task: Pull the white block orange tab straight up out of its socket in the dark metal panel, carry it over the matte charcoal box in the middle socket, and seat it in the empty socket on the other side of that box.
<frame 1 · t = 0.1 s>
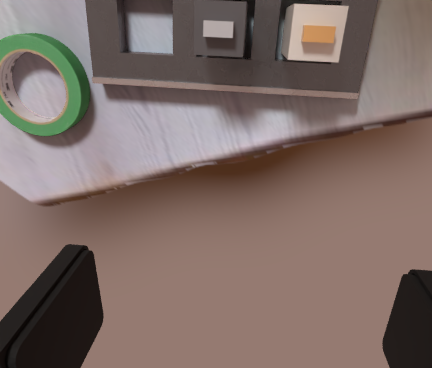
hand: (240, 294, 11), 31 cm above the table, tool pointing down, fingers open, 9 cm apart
tape roll: (46, 84, 41), on the table
panel: (226, 28, 36), on the table
white block orange tab: (304, 31, 35), resting in panel
matte charcoal box: (226, 28, 36), resting in panel
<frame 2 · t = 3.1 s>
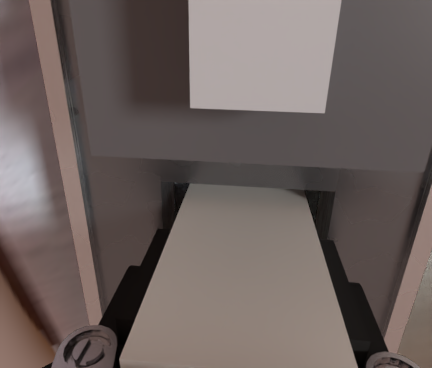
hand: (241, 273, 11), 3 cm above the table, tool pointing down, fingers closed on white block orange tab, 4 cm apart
panel: (256, 7, 11), on the table
white block orange tab: (243, 228, 14), resting in panel, touching gripper
matte charcoal box: (256, 7, 11), resting in panel
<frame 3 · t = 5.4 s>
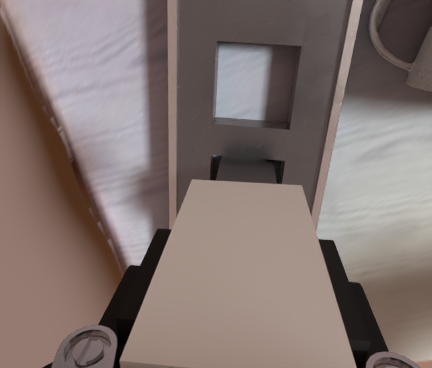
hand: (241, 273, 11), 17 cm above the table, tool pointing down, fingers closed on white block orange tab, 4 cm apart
panel: (245, 180, 29), on the table
white block orange tab: (243, 229, 14), point 14 cm above the table, touching gripper
matte charcoal box: (245, 180, 29), resting in panel
when the fingers open (4 cm above the table, at t = 7.8 s): white block orange tab drops 1 cm, resting in panel.
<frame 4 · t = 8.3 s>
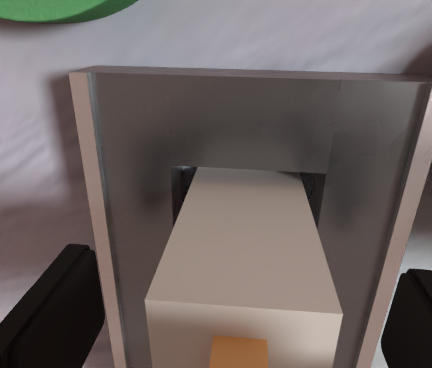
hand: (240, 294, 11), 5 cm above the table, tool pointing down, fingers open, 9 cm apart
panel: (237, 339, 19), on the table
white block orange tab: (245, 210, 15), resting in panel
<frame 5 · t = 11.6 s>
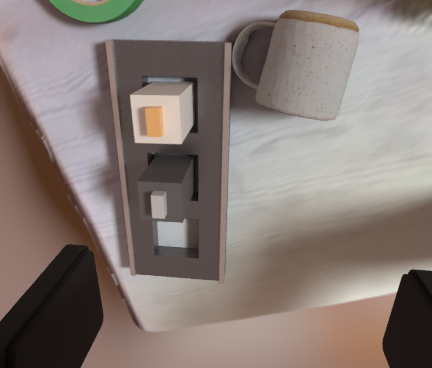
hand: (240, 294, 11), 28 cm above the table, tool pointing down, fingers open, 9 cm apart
panel: (177, 170, 40), on the table
white block orange tab: (175, 101, 37), resting in panel
matte charcoal box: (177, 170, 40), resting in panel
ceramic mug: (287, 62, 34), on the table
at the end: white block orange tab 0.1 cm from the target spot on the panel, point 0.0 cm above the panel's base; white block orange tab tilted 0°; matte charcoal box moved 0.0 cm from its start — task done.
